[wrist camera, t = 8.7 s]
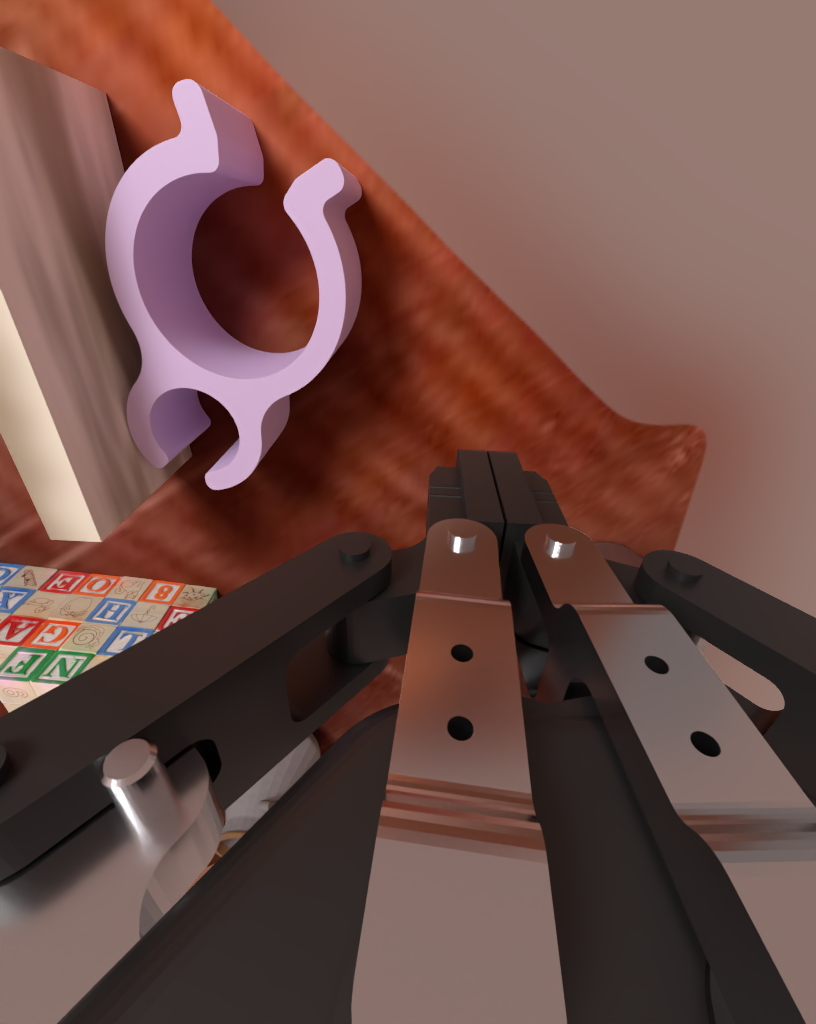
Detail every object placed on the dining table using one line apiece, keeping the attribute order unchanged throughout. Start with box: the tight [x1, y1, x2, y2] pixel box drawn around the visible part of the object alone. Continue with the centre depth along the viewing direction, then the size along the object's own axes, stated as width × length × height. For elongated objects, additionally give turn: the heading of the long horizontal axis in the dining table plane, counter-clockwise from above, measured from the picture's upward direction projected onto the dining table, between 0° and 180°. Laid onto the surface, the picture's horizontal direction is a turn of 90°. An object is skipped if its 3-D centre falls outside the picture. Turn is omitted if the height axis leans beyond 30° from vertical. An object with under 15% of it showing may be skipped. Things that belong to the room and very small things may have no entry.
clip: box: [105, 79, 362, 490], centre depth 28 cm, size 20×12×7 cm, turn 155°
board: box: [0, 47, 192, 542], centre depth 26 cm, size 3×22×12 cm, turn 178°
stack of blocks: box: [0, 563, 218, 712], centre depth 40 cm, size 21×6×12 cm, turn 83°
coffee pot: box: [215, 734, 320, 857], centre depth 48 cm, size 21×12×15 cm, turn 150°
